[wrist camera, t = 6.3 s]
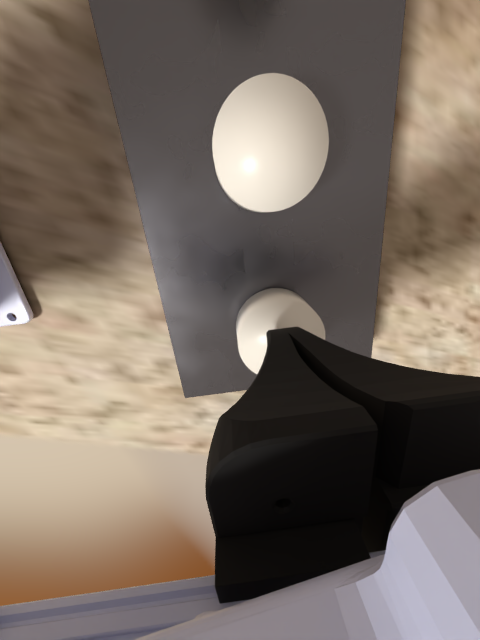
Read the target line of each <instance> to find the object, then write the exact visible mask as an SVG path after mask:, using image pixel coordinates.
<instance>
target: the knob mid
mask: <svg viewBox="0 0 480 640" xmlns="http://www.w3.org/2000/svg"><path fill="white" fill-rule="evenodd" d="M328 146H329V133H328V126H327V121H326V117H325V114H324V112H323V109H322V107H321V105H320V103H319V101H318V100H317V98H316V97H315V95H314V94H313V93H312V91H311V90H310V89H309V88H308V87H307V86H306V85H304V84H303V83H301V82H300V81H299V80H297V79H295V78H293V77H291V76H288V75H284V74H279V73H266V74H261V75H257V76H254V77H252V78H250V79H248V80H246V81H244V82H243V83H241V84H240V85H239V86H238V87H236V88H235V89H234V90H233V91H232V93H231V94H230V95H229V96H228V97H227V99H226V100H225V102H224V103H223V105H222V107H221V109H220V111H219V113H218V116H217V118H216V122H215V126H214V131H213V138H212V150H213V159H214V165H215V170H216V174H217V178H218V181H219V183H220V185H221V187H222V189H223V190H224V192H225V193H226V195H227V196H228V197H229V198H230V199H231V200H232V201H233V202H234V203H235V204H237V205H238V206H240V207H242V208H243V209H246V210H249V211H252V212H260V213H261V212H275V211H281V210H284V209H287V208H289V207H291V206H293V205H295V204H297V203H298V202H300V201H301V200H302V199H303V198H304V197H306V196H307V195H308V194H309V192H310V191H311V190H312V189H313V188H314V186H315V185H316V183H317V182H318V180H319V178H320V176H321V174H322V172H323V169H324V166H325V163H326V160H327V154H328Z"/></svg>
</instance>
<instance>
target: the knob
mask: <svg viewBox="0 0 480 640" xmlns="http://www.w3.org/2000/svg"><path fill="white" fill-rule="evenodd" d="M289 327H300V328H302V329H304V330H306V331H308V332H310V333H312V334H314V335H316V336H318V337H320V338H322V339H324V340H325V328H324V325H323V322H322V320H321V318H320V317H319V316H318V314H317V313H316V312H315V311H314V310H313V309H312V308H311V307H310V306H309V305H308V304H307V303H306V301H305V300H304V299H303V298H302V297H300V296H299V295H298V294H296V293H295V292H293V291H290V290H287V289H283V288H270V289H266V290H263V291H260V292H258V293H256V294H254V295H253V296H251V297H250V298H249V299H248V300H247V301H246V302H245V303H244V304H243V306H242V307H241V309H240V311H239V313H238V316H237V320H236V332H237V341H238V349H239V354H240V356H241V359H242V360H243V362H244V364H245V365H246V366H247V367H248V368H249V369H250V370H251V371H252V372H254V373H256V374H258V372H259V370H260V368H261V366H262V363H263V360H264V357H265V354H266V350H267V337H266V333H267V331H268V330H274V329H281V328H289Z"/></svg>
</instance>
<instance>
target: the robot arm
mask: <svg viewBox="0 0 480 640" xmlns="http://www.w3.org/2000/svg"><path fill="white" fill-rule="evenodd" d="M12 313H13V314H15V316H16V317H17V319H16V318H14V317H13V316H12ZM32 319H33V312H32V310H31V308H30V305H29V303H28V301H27V299H26V297H25V295H24V292H23V290H22V288H21V286H20V284H19V281H18V279H17V277H16V275H15V273H14V270H13V268H12V266H11V264H10V262H9V259H8V257H7V255H6V253H5V251H4V248H3V246H2V244H1V242H0V327H1V326H9V325H17V324H25V323H28V322H29V321H31V320H32ZM266 337H267V350H266V354H265V357H264V360H263V363H262V366H261V368H260V370H259V372H258V374H257V376H256V378H255V379H254V381H253V383H252V384H251V386H250V387H249V388H248V390H247V391H246V392H245V393H244V395H243V396H242V397H241V398H240V399H239V401H238V402H237V403H236V404H235V405H233V406H232V407H231V408H230V409H229V410H228V411H227V412H225V413H224V414H223V415H222V416H221V417H220V418H219V420H218V423H217V426H216V429H215V432H214V435H213V439H212V442H211V446H210V451H209V456H208V461H207V470H206V500H207V504H208V508H209V512H210V516H211V520H212V524H213V528H214V531H215V536H216V552H215V575H212V576H205V577H198V578H191V579H185V580H178V581H171V582H164V583H157V584H150V585H143V586H136V587H129V588H123V589H116V590H109V591H102V592H95V593H88V594H82V595H74V596H68V597H60V598H53V599H47V600H40V601H34V602H26V603H19V604H12V605H5V606H0V640H480V377H474V376H464V375H454V374H445V373H439V372H432V371H426V370H420V369H414V368H409V367H404V366H400V365H396V364H391V363H387V362H383V361H379V360H376V359H372V358H369V357H366V356H363V355H360V354H357V353H354V352H351V351H349V350H346V349H344V348H342V347H339V346H337V345H335V344H332V343H330V342H328V341H326V340H324V339H322V338H320V337H318V336H316V335H314V334H312V333H310V332H308V331H306V330H304V329H302V328H300V327H289V328H281V329H274V330H268V331H267V333H266Z"/></svg>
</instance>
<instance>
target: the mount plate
mask: <svg viewBox="0 0 480 640" xmlns="http://www.w3.org/2000/svg"><path fill="white" fill-rule="evenodd" d="M88 1H89V5H90V9H91V13H92V17H93V21H94V25H95V30H96V34H97V38H98V42H99V46H100V50H101V54H102V58H103V62H104V67H105V71H106V75H107V79H108V83H109V87H110V91H111V95H112V99H113V104H114V108H115V112H116V116H117V120H118V124H119V128H120V132H121V136H122V141H123V145H124V149H125V153H126V157H127V161H128V165H129V169H130V173H131V178H132V182H133V186H134V190H135V194H136V198H137V202H138V206H139V210H140V215H141V219H142V223H143V227H144V231H145V235H146V239H147V243H148V247H149V252H150V256H151V260H152V264H153V268H154V272H155V276H156V280H157V285H158V289H159V293H160V297H161V301H162V305H163V309H164V313H165V317H166V322H167V326H168V330H169V334H170V338H171V342H172V346H173V350H174V354H175V359H176V363H177V367H178V371H179V375H180V379H181V383H182V387H183V391H184V396H185V398H188V397H196V396H204V395H211V394H219V393H226V392H234V391H242V390H248V388H249V387H250V386H251V384H252V383H253V381H254V379H255V378H256V376H257V374H256V373H254V372H252V371H251V370H250V369H249V368H248V367H247V366H246V365H245V364H244V362H243V360H242V359H241V356H240V354H239V349H238V341H237V332H236V320H237V316H238V313H239V311H240V309H241V307H242V306H243V304H244V303H245V302H246V301H247V300H248V299H249V298H250V297H251V296H253V295H254V294H256V293H258V292H260V291H263V290H266V289H270V288H283V289H287V290H290V291H293V292H295V293H296V294H298V295H299V296H300V297H302V298H303V299H304V300H305V301H306V303H307V304H308V305H309V306H310V307H311V308H312V309H313V310H314V311H315V312H316V313H317V314H318V316H319V317H320V318H321V320H322V322H323V325H324V328H325V340H326V341H328V342H330V343H332V344H335V345H337V346H339V347H342V348H344V349H346V350H349V351H351V352H354V353H357V354H360V355H363V356H366V357H369V358H371V354H372V344H373V333H374V323H375V313H376V302H377V292H378V282H379V271H380V261H381V251H382V240H383V230H384V220H385V209H386V199H387V189H388V178H389V168H390V158H391V148H392V137H393V127H394V117H395V106H396V96H397V86H398V75H399V65H400V55H401V44H402V34H403V24H404V13H405V3H406V0H88ZM266 73H279V74H284V75H288V76H291V77H293V78H295V79H297V80H299V81H300V82H301V83H303V84H304V85H306V86H307V87H308V88H309V89H310V90H311V91H312V93H313V94H314V95H315V97H316V98H317V100H318V101H319V103H320V105H321V107H322V109H323V112H324V114H325V117H326V121H327V126H328V133H329V146H328V154H327V160H326V163H325V166H324V169H323V172H322V174H321V176H320V178H319V180H318V182H317V183H316V185H315V186H314V188H313V189H312V190H311V191H310V192H309V194H308V195H307V196H306V197H304V198H303V199H302V200H301V201H300V202H298V203H297V204H295V205H293V206H291V207H289V208H287V209H284V210H281V211H275V212H261V213H260V212H252V211H249V210H246V209H243V208H242V207H240V206H238V205H237V204H235V203H234V202H233V201H232V200H231V199H230V198H229V197H228V196H227V195H226V193H225V192H224V190H223V189H222V187H221V185H220V183H219V181H218V178H217V174H216V170H215V165H214V159H213V150H212V138H213V131H214V126H215V122H216V118H217V116H218V113H219V111H220V109H221V107H222V105H223V103H224V102H225V100H226V99H227V97H228V96H229V95H230V94H231V93H232V91H233V90H234V89H235V88H236V87H238V86H239V85H240V84H241V83H243V82H244V81H246V80H248V79H250V78H252V77H254V76H257V75H261V74H266Z"/></svg>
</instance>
